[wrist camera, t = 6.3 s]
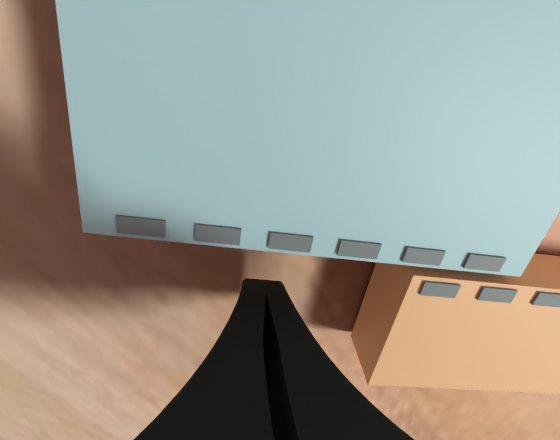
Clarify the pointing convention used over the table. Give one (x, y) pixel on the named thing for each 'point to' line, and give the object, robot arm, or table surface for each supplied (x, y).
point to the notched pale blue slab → (319, 126)
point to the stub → (462, 328)
